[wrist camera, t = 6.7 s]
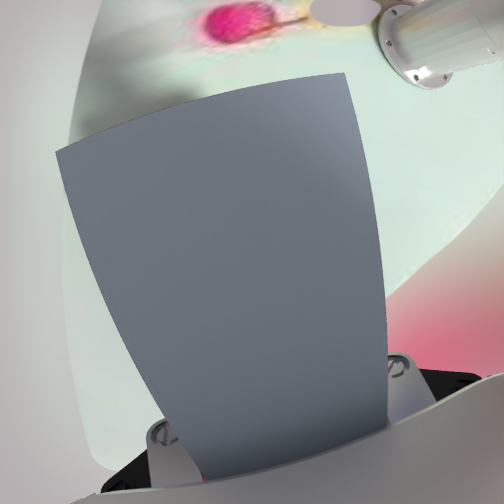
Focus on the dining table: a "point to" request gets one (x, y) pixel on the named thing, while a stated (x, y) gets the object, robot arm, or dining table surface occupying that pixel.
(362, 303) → the panel
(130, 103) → the dining table surface
